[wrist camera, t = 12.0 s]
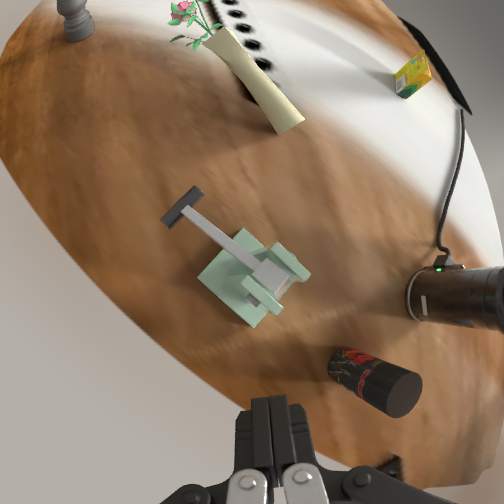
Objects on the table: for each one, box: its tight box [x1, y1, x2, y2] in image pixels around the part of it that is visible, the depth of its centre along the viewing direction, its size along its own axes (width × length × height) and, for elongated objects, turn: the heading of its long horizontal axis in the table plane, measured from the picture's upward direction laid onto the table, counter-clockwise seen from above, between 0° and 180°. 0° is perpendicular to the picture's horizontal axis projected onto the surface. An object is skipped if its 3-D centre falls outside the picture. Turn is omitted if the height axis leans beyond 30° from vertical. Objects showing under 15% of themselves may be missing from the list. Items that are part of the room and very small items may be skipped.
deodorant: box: [328, 347, 422, 418], centre depth 33 cm, size 6×6×15 cm
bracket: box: [197, 227, 311, 328], centre depth 31 cm, size 10×9×14 cm
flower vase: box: [168, 0, 304, 136], centre depth 37 cm, size 12×12×35 cm
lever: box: [160, 186, 290, 299], centre depth 29 cm, size 15×6×2 cm, turn 48°
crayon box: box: [395, 50, 432, 99], centre depth 43 cm, size 7×3×12 cm, turn 165°
